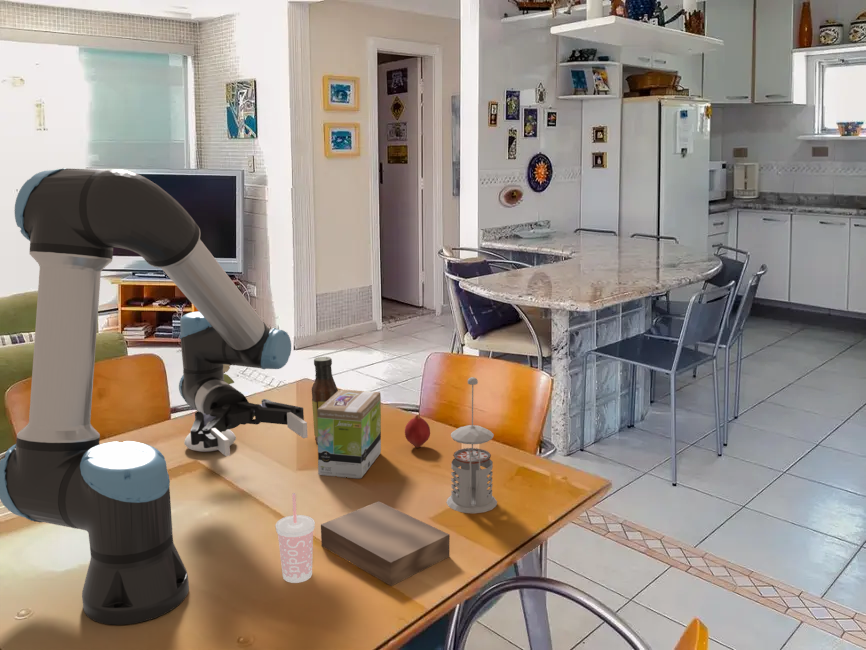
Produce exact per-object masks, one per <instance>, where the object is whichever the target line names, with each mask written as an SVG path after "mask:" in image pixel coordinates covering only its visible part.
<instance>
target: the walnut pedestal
mask: <svg viewBox="0 0 866 650" xmlns="http://www.w3.org/2000/svg"><path fill="white" fill-rule="evenodd" d="M320 538H321V539H320V540H321V547H322V546H323V548H324V549H325V550H327V551H329V550H330V552H331V553H333V554H335V555H336V554H337V555H336V556H338V555H339V556H338V557H340V558H342V559H343V558H344V560H345V559H346V560H345V561H347V560H348V561H347V562H349V561H350V562H351V563H350V562H349V563H350V564H352V563H353V564H352V565H354V566H355V565H356V566H355V567H358V569H359V568H360V569H361V570H363V571H364V572H366V573H368V574H369V575H372V576H373V577H375V578H377V579H378V580H380V581H382V582H383V583H384V584H386V585H389V587H392V586H394V585H396V584H398V583H400V582H402V581H403V580H406V579H408V578H410V577H412V576H414V575H416V574H417V573H420V572H422V571H424V570H426V569H427V568H430V567H431V566H434V565H436V564H438V563H439V562H442V561H443V560H445V559H447V558H449V557H450V534H449V533H448V532H445V531H443V530H440V529H438V528H437V527H434V526H432V525H431V524H428V523H426V522H423V521H422V520H419V519H417V518H415V517H413V516H412V515H409V514H406V513H404V512H402V511H400V510H399V509H396V508H394V507H392V506H390V505H388V504H386V503H384V502H381V501H379V500H378V501H376V502H373V503H371V504H368V505H365V506H363V507H361V508H359V509H356V510H354V511H351V512H348V513H345V514H343V515H341V516H339V517H336V518H334V519H331V520H328V521H327V522H324V523H321V524H320Z"/></svg>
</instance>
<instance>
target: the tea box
mask: <svg viewBox="0 0 866 650" xmlns="http://www.w3.org/2000/svg"><path fill="white" fill-rule="evenodd" d="M381 395H382V394H381V392H380V391H368V390H357V389H356V390H354V389H353V390H351V389H338V391H337V392H336V393H335V394H334V395H333V396H332V397H331V398H329V399H328V400H327V401H326V402H325V403H324V404H323V405H322V406H320V407H319V408H318V410H317V411H318V442H317V469H318V470H317V475H318V476H324V477H325V476H328V477H335V476H337V478H346V477H347V478H349V479H362V478H363V476H364V475H365V474H366V473H367V471H368V470H369V469H370V468H371V466H372V465H373V464H374V462H375V461H376V459H377V458H378V457H379V455H380V454H381V452H382V445H381V444H382V431H381V430H382V424H381V423H382V418H381V417H382V415H381V413H382V412H381V411H382V408H381V407H382V405H381V404H382V400H381V399H382V398H381ZM347 478H346V479H347Z"/></svg>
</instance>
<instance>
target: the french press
mask: <svg viewBox="0 0 866 650" xmlns="http://www.w3.org/2000/svg"><path fill="white" fill-rule="evenodd" d="M478 383H479V381H478V379H477V377H473V376H471V377H469V378H468V379H467V384H468V385H471V424H469V425H468V424H467V425H465V426H460V427H458V428H456V429H455V430H453V431H452V432H451V433H450V437H451V438H452V440H453V441H455V442H456V443H459V444H465V445H471V447H467V448H464V447H463V448H461V449H457V450H456V451H455V452H453V455H452V456H453V457H454V458H452V461H451V464H450V465H451V467H450V469H451V470H452V471H451V476H452V477H451V480H450V481H451V482H452V483H451V490H450V491H451V492H450V493H451V494H450V496H449V497H447V500H446V504H447V506H448V507H449V508H450V509H452V510H454V511H455V512H456V511H457V512H458V513H459V512H460V513H463V514H480V513H486V512H489V511H492V510H493V509H494V508H496V507H497V504H498V501H497V499H496V498H495V496H493V467H494V466H493V464H494V463H493V460H492V459H491V458H492V457H491V456H492V454H491V453H490V452H489V451H487V450H486V449H482V448H477V447H474V445H482V444H484V443H488V442H490V441H491V440H492V439H493V438H494V435H495V434H494V433H493V431H491V430H489V429H487V428H485V427H483V426H480V425H474V386H475V385H478ZM482 467H483V468H482Z"/></svg>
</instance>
